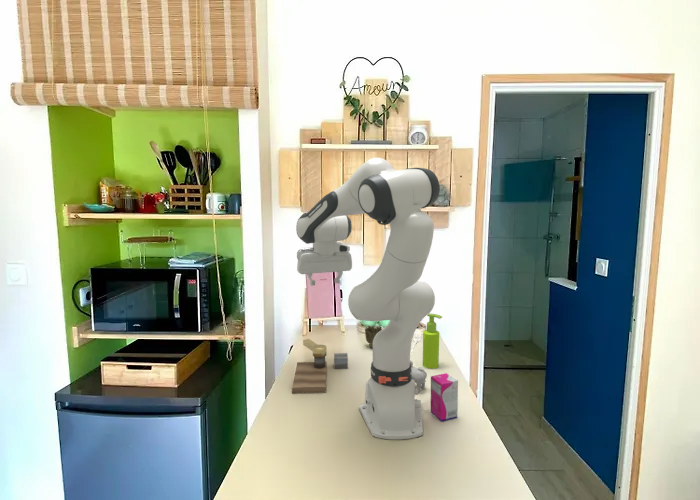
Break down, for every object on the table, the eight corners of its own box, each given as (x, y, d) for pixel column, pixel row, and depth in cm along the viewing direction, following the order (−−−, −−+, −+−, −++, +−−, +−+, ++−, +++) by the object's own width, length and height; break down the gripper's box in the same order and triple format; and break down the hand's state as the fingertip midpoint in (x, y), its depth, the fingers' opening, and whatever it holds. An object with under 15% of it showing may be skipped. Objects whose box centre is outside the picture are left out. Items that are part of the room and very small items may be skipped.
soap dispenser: (436, 370, 147) (438, 318, 144) (419, 366, 151) (421, 314, 148) (443, 365, 151) (445, 314, 149) (426, 361, 155) (428, 311, 153)
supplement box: (445, 408, 121) (447, 372, 119) (457, 418, 115) (459, 380, 114) (429, 412, 119) (430, 375, 117) (440, 422, 113) (442, 384, 112)
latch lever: (329, 355, 145) (328, 347, 144) (316, 358, 142) (316, 350, 141) (311, 344, 156) (311, 336, 155) (300, 346, 153) (300, 339, 153)
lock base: (350, 392, 131) (349, 374, 130) (292, 393, 130) (291, 375, 129) (347, 363, 154) (347, 348, 153) (298, 363, 153) (297, 348, 152)
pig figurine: (394, 378, 141) (395, 349, 139) (428, 388, 133) (429, 357, 132) (387, 384, 137) (387, 354, 135) (421, 394, 129) (422, 363, 128)
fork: (406, 354, 164) (406, 350, 164) (414, 337, 183) (414, 333, 182) (414, 355, 163) (414, 351, 163) (421, 337, 182) (422, 333, 181)
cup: (362, 349, 167) (362, 330, 166) (367, 342, 174) (367, 325, 173) (380, 351, 165) (380, 332, 164) (383, 344, 172) (384, 326, 171)
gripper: (299, 249, 138) (299, 288, 140) (353, 246, 146) (353, 283, 148) (294, 247, 144) (295, 284, 146) (347, 244, 151) (347, 280, 154)
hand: (325, 284), depth 147 cm, fingers open, 8 cm apart
